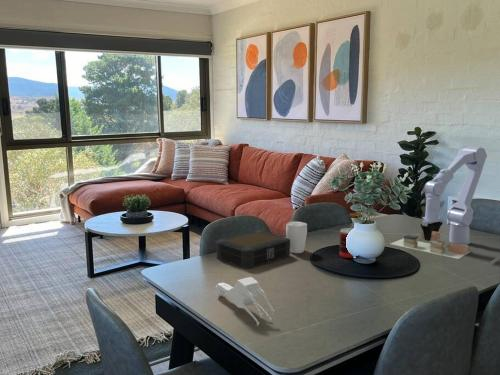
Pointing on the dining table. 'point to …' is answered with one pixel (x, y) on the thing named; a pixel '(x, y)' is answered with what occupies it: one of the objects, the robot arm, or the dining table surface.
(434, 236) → the cap marked
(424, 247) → the board
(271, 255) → the cash box
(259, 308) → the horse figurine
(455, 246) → the cap plain
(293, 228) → the cup
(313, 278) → the dining table surface
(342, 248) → the canned food
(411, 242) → the marked block
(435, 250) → the plain block
